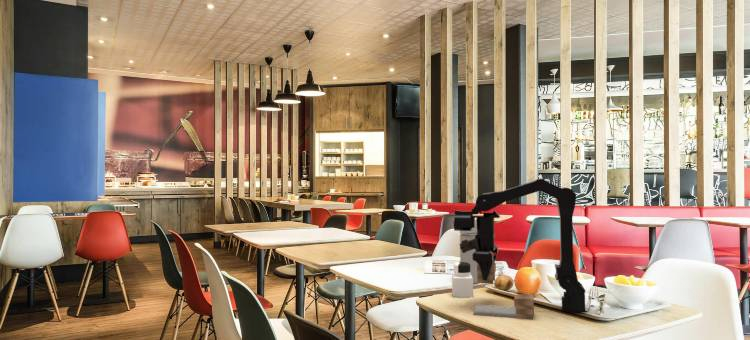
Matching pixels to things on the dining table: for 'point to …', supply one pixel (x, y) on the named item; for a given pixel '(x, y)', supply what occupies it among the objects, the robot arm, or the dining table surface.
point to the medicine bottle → (462, 280)
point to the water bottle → (469, 252)
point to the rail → (495, 311)
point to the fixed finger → (524, 306)
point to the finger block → (490, 277)
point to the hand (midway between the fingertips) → (486, 278)
